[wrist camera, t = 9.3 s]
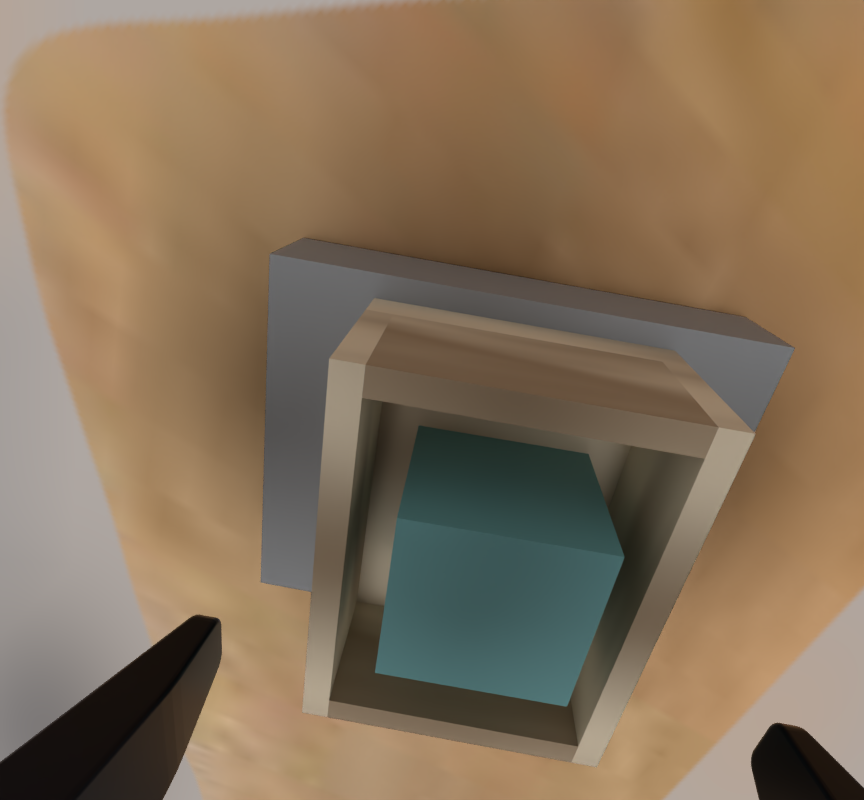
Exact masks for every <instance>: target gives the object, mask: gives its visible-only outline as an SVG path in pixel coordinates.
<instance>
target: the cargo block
mask: <svg viewBox="0 0 864 800" xmlns="http://www.w3.org/2000/svg"><path fill="white" fill-rule="evenodd" d="M623 560H624V554H623V551H622V548H621V545H620V542H619V539H618V537H617V534H616V531H615V528H614V525H613V522H612V519H611V517H610V514H609V511H608V508H607V505H606V502H605V500H604V497H603V494H602V491H601V488H600V485H599V482H598V480H597V477H596V474H595V471H594V468H593V465H592V462H591V460H590V457H589V454H586V453H580V452H574V451H568V450H562V449H557V448H551V447H545V446H539V445H533V444H527V443H521V442H515V441H509V440H503V439H497V438H491V437H485V436H479V435H473V434H467V433H461V432H455V431H449V430H443V429H438V428H432V427H426V426H420V425H419V426H418V431H417V435H416V439H415V443H414V448H413V452H412V456H411V460H410V465H409V469H408V473H407V478H406V482H405V486H404V490H403V495H402V499H401V503H400V507H399V512H398V516H397V521H396V528H395V535H394V542H393V549H392V556H391V563H390V571H389V578H388V585H387V592H386V599H385V606H384V613H383V620H382V627H381V634H380V641H379V648H378V655H377V662H376V669H375V673H379V674H385V675H390V676H396V677H402V678H407V679H413V680H419V681H424V682H430V683H436V684H441V685H447V686H453V687H458V688H464V689H470V690H475V691H481V692H486V693H492V694H498V695H503V696H509V697H515V698H520V699H526V700H532V701H537V702H543V703H549V704H554V705H560V706H566V707H567V705H568V703H569V700H570V698H571V695H572V692H573V690H574V687H575V685H576V682H577V679H578V677H579V674H580V672H581V669H582V666H583V664H584V661H585V659H586V656H587V653H588V651H589V648H590V646H591V643H592V640H593V638H594V635H595V633H596V630H597V627H598V625H599V622H600V620H601V617H602V615H603V612H604V609H605V607H606V604H607V602H608V599H609V596H610V594H611V591H612V589H613V586H614V583H615V581H616V578H617V576H618V573H619V570H620V568H621V565H622V563H623Z"/></svg>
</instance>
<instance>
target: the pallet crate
mask: <svg viewBox="0 0 864 800" xmlns="http://www.w3.org/2000/svg"><path fill="white" fill-rule="evenodd" d="M419 425H420V426H426V427H432V428H438V429H443V430H449V431H455V432H461V433H467V434H473V435H479V436H485V437H491V438H497V439H503V440H509V441H515V442H521V443H527V444H533V445H539V446H545V447H551V448H557V449H562V450H568V451H574V452H580V453H586V454H589V457H590V460H591V462H592V465H593V468H594V471H595V474H596V477H597V480H598V482H599V485H600V488H601V491H602V494H603V497H604V500H605V502H606V505H607V508H608V511H609V514H610V517H611V519H612V522H613V525H614V528H615V531H616V534H617V537H618V539H619V542H620V545H621V548H622V551H623V554H624V560H623V563H622V565H621V568H620V570H619V573H618V576H617V578H616V581H615V583H614V586H613V589H612V591H611V594H610V596H609V599H608V602H607V604H606V607H605V609H604V612H603V615H602V617H601V620H600V622H599V625H598V627H597V630H596V633H595V635H594V638H593V640H592V643H591V646H590V648H589V651H588V653H587V656H586V659H585V661H584V664H583V666H582V669H581V672H580V674H579V677H578V679H577V682H576V685H575V687H574V690H573V692H572V695H571V698H570V700H569V703H568V705H567V707H566V706H560V705H554V704H549V703H543V702H537V701H532V700H526V699H520V698H515V697H509V696H503V695H498V694H492V693H486V692H481V691H475V690H470V689H464V688H458V687H453V686H447V685H441V684H436V683H430V682H424V681H419V680H413V679H407V678H402V677H396V676H390V675H385V674H379V673H375V669H376V662H377V655H378V648H379V641H380V634H381V627H382V620H383V613H384V606H385V599H386V592H387V585H388V578H389V571H390V563H391V556H392V549H393V542H394V535H395V528H396V521H397V516H398V512H399V507H400V503H401V499H402V495H403V490H404V486H405V482H406V478H407V473H408V469H409V465H410V460H411V456H412V452H413V448H414V443H415V439H416V435H417V431H418V426H419ZM754 436H755V433H754V432H753V431H752V430H751V429H750V428H749V427H748V426H747V424H746V423H745V422H744V421H743V420H742V419H741V418H740V417H739V416H738V415H737V414H736V413H735V412H734V411H733V410H732V409H731V408H730V407H729V406H728V405H727V404H726V403H725V402H724V401H723V400H722V399H721V398H720V397H719V396H718V395H717V394H716V392H715V391H714V390H713V389H712V388H711V387H710V386H709V385H708V384H707V383H706V382H705V381H704V380H703V379H702V378H701V377H700V376H699V375H698V374H697V373H696V372H695V371H694V370H693V369H692V368H691V367H690V366H689V365H688V364H687V363H686V362H685V360H684V359H683V358H682V357H681V356H680V355H679V354H678V353H677V352H676V351H674V350H668V349H662V348H657V347H651V346H645V345H640V344H634V343H628V342H623V341H617V340H611V339H605V338H600V337H594V336H588V335H583V334H577V333H571V332H566V331H560V330H554V329H548V328H543V327H537V326H531V325H526V324H520V323H514V322H509V321H503V320H497V319H491V318H486V317H480V316H474V315H469V314H463V313H457V312H452V311H446V310H440V309H435V308H429V307H423V306H417V305H412V304H406V303H400V302H395V301H389V300H383V299H378V298H374V299H373V300H372V302H371V303H370V304H369V306H368V307H367V308H366V310H365V311H364V313H363V314H362V315H361V317H360V318H359V319H358V321H357V322H356V323H355V325H354V326H353V327H352V329H351V330H350V331H349V333H348V334H347V335H346V337H345V338H344V339H343V341H342V342H341V343H340V345H339V346H338V347H337V349H336V350H335V351H334V353H333V354H332V355H331V357H330V358H329V368H328V381H327V394H326V407H325V421H324V434H323V447H322V460H321V473H320V486H319V499H318V512H317V525H316V539H315V552H314V565H313V578H312V591H311V604H310V617H309V630H308V643H307V656H306V670H305V683H304V696H303V709H302V713H308V714H313V715H318V716H324V717H329V718H334V719H340V720H345V721H351V722H356V723H361V724H367V725H372V726H377V727H383V728H388V729H394V730H399V731H404V732H410V733H415V734H421V735H426V736H431V737H437V738H442V739H447V740H453V741H458V742H464V743H469V744H474V745H480V746H485V747H490V748H496V749H501V750H507V751H512V752H517V753H523V754H528V755H533V756H539V757H544V758H550V759H555V760H560V761H566V762H571V763H576V764H582V765H587V766H593V767H597V766H598V764H599V761H600V759H601V757H602V755H603V753H604V751H605V749H606V747H607V745H608V743H609V741H610V738H611V736H612V734H613V732H614V730H615V728H616V726H617V724H618V722H619V720H620V717H621V715H622V713H623V711H624V709H625V707H626V705H627V703H628V701H629V699H630V696H631V694H632V692H633V690H634V688H635V686H636V684H637V682H638V680H639V678H640V676H641V673H642V671H643V669H644V667H645V665H646V663H647V661H648V659H649V657H650V655H651V652H652V650H653V648H654V646H655V644H656V642H657V640H658V638H659V636H660V634H661V631H662V629H663V627H664V625H665V623H666V621H667V619H668V617H669V615H670V613H671V611H672V608H673V606H674V604H675V602H676V600H677V598H678V596H679V594H680V592H681V590H682V587H683V585H684V583H685V581H686V579H687V577H688V575H689V573H690V571H691V569H692V566H693V564H694V562H695V560H696V558H697V556H698V554H699V552H700V550H701V548H702V546H703V543H704V541H705V539H706V537H707V535H708V533H709V531H710V529H711V527H712V525H713V522H714V520H715V518H716V516H717V514H718V512H719V510H720V508H721V506H722V504H723V501H724V499H725V497H726V495H727V493H728V491H729V489H730V487H731V485H732V483H733V481H734V478H735V476H736V474H737V472H738V470H739V468H740V466H741V464H742V462H743V460H744V457H745V455H746V453H747V451H748V449H749V447H750V445H751V443H752V441H753V439H754Z"/></svg>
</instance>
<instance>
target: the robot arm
mask: <svg viewBox="0 0 864 800" xmlns="http://www.w3.org/2000/svg"><path fill="white" fill-rule="evenodd" d="M221 655H222V637H221V622H220V620H219V619H218V618H215V617H209V616H204V615H194V616H192V617H190V618H189V619H188V620H186V621H185V622H184V623H182V624H181V625H180V626H178V627H177V628H176V629H175V630H173V631H172V632H171V633H169V634H168V635H167V636H165V637H164V638H163V639H161V640H160V641H159V642H157V643H156V644H155V645H153V646H152V647H151V648H150V649H148V650H147V651H146V652H144V653H143V654H142V655H140V656H139V657H138V658H136V659H135V660H134V661H133V662H131V663H130V664H129V665H127V666H126V667H125V668H123V669H122V670H121V671H119V672H118V673H117V674H115V675H114V676H113V677H111V678H110V679H109V680H108V681H106V682H105V683H104V684H102V685H101V686H100V687H98V688H97V689H96V690H94V691H93V692H92V693H90V694H89V695H88V696H86V697H85V698H84V699H83V700H81V701H80V702H79V703H77V704H76V705H75V706H74V707H72V708H71V709H70V710H68V711H67V712H65V713H64V714H63V715H61V716H60V717H59V718H57V719H56V720H55V721H54V722H52V723H51V724H50V725H48V726H47V727H46V728H44V729H43V730H42V731H40V732H39V733H38V734H36V735H35V736H34V737H32V738H31V739H30V740H29V741H27V742H26V743H25V744H23V745H22V746H21V747H19V748H18V749H17V750H15V751H14V752H13V753H12V754H10V755H9V756H8V757H6V758H5V759H4V760H2V761H1V762H0V800H163V798H164V796H165V794H166V792H167V790H168V788H169V786H170V784H171V782H172V780H173V778H174V775H175V774H176V772H177V770H178V767H179V765H180V763H181V760H182V758H183V755H184V753H185V751H186V748H187V746H188V743H189V741H190V738H191V736H192V733H193V730H194V728H195V725H196V723H197V720H198V718H199V715H200V713H201V710H202V708H203V705H204V703H205V700H206V698H207V695H208V693H209V690H210V688H211V685H212V683H213V680H214V678H215V675H216V673H217V670H218V667H219V664H220V660H221ZM751 766H752V772H753V776H754V780H755V784H756V789H757V793H758V797H759V800H864V788H863V787H862V786H861V785H860V784H859V783H858V782H857V781H856V780H855V779H854V778H853V777H852V776H851V775H850V774H849V773H848V772H847V771H846V770H845V769H844V768H843V767H842V766H841V765H840V764H839V763H838V762H837V761H836V760H835V759H834V758H833V757H832V756H831V755H830V754H829V753H828V752H827V751H826V750H825V749H824V748H823V747H822V746H821V745H820V744H819V743H818V742H817V741H816V740H815V739H814V738H813V737H812V736H811V735H810V734H809V733H808V732H807V731H805V730H804V729H802V728H800V727H797V726H793V725H787V724H782V723H775V724H772V725H771V726H770V727H769V729H768V730H767V732H766V733H765V735H764V736H763V737H762V739H761V740H760V742H759V743H758V745H757V746H756V748H755V749H754V751H753V753H752V757H751Z"/></svg>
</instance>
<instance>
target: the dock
mask: <svg viewBox="0 0 864 800" xmlns="http://www.w3.org/2000/svg"><path fill="white" fill-rule="evenodd" d="M374 298H378V299H383V300H389V301H395V302H400V303H406V304H412V305H417V306H423V307H429V308H435V309H440V310H446V311H452V312H457V313H463V314H469V315H474V316H480V317H486V318H491V319H497V320H503V321H509V322H514V323H520V324H526V325H531V326H537V327H543V328H548V329H554V330H560V331H566V332H571V333H577V334H583V335H588V336H594V337H600V338H605V339H611V340H617V341H623V342H628V343H634V344H640V345H645V346H651V347H657V348H662V349H668V350H674V351H676V352H677V353H678V354H679V355H680V356H681V357H682V358H683V359H684V360H685V362H686V363H687V364H688V365H689V366H690V367H691V368H692V369H693V370H694V371H695V372H696V373H697V374H698V375H699V376H700V377H701V378H702V379H703V380H704V381H705V382H706V383H707V384H708V385H709V386H710V387H711V388H712V389H713V390H714V391H715V392H716V394H717V395H718V396H719V397H720V398H721V399H722V400H723V401H724V402H725V403H726V404H727V405H728V406H729V407H730V408H731V409H732V410H733V411H734V412H735V413H736V414H737V415H738V416H739V417H740V418H741V419H742V420H743V421H744V422H745V423H746V424H747V426H748V427H749V428H750V429H751V430H752V431H753V432H755V430H756V428H757V426H758V424H759V422H760V420H761V418H762V416H763V414H764V412H765V409H766V407H767V405H768V403H769V401H770V399H771V397H772V395H773V393H774V391H775V389H776V387H777V385H778V382H779V380H780V378H781V376H782V374H783V372H784V370H785V368H786V366H787V364H788V362H789V360H790V357H791V355H792V353H793V351H794V349H795V348H794V347H792V346H791V345H789V344H788V343H786V342H784V341H783V340H781V339H780V338H778V337H776V336H775V335H773V334H772V333H770V332H768V331H767V330H765V329H764V328H762V327H761V326H759V325H757V324H756V323H754V322H753V321H751V320H749V319H748V318H746V317H742V316H737V315H731V314H726V313H720V312H715V311H709V310H703V309H698V308H692V307H687V306H681V305H675V304H670V303H664V302H659V301H653V300H648V299H642V298H636V297H631V296H625V295H620V294H614V293H608V292H603V291H597V290H592V289H586V288H581V287H575V286H569V285H564V284H558V283H553V282H547V281H542V280H536V279H530V278H525V277H519V276H514V275H508V274H502V273H497V272H491V271H486V270H480V269H475V268H469V267H463V266H458V265H452V264H447V263H441V262H435V261H430V260H424V259H419V258H413V257H408V256H402V255H396V254H391V253H385V252H380V251H374V250H368V249H363V248H357V247H352V246H346V245H341V244H335V243H329V242H324V241H318V240H313V239H307V238H302V239H300V240H298V241H296V242H293V243H291V244H289V245H287V246H285V247H283V248H281V249H279V250H277V251H275V252H272V253H270V263H269V300H268V337H267V373H266V410H265V447H264V484H263V520H262V557H261V583H267V584H272V585H277V586H283V587H288V588H294V589H299V590H304V591H310V592H311V591H312V578H313V565H314V552H315V539H316V525H317V512H318V499H319V486H320V473H321V460H322V447H323V434H324V421H325V407H326V394H327V381H328V368H329V358H330V357H331V355H332V354H333V353H334V351H335V350H336V349H337V347H338V346H339V345H340V343H341V342H342V341H343V339H344V338H345V337H346V335H347V334H348V333H349V331H350V330H351V329H352V327H353V326H354V325H355V323H356V322H357V321H358V319H359V318H360V317H361V315H362V314H363V313H364V311H365V310H366V308H367V307H368V306H369V304H370V303H371V302H372V300H373V299H374Z"/></svg>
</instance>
